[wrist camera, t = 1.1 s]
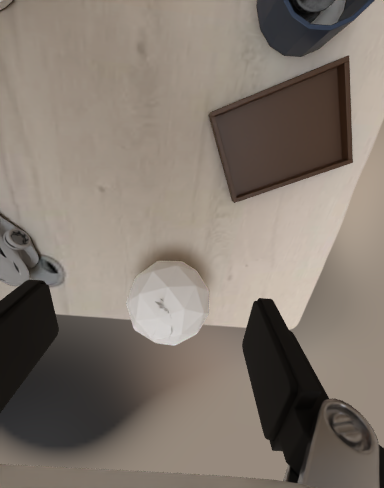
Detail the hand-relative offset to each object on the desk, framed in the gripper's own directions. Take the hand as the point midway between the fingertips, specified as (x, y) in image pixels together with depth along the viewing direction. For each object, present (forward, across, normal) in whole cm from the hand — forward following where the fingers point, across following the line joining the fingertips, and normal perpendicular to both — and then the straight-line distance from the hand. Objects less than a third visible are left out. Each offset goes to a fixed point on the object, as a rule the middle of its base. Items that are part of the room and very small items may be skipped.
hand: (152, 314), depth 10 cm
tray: (+28, -14, -10) cm, 33 cm away
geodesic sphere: (+28, +1, +17) cm, 33 cm away
